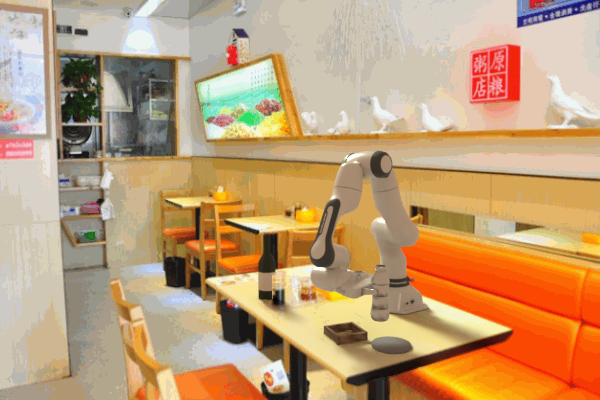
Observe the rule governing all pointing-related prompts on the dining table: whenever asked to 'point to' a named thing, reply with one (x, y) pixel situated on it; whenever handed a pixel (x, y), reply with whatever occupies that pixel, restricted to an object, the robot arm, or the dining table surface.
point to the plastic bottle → (380, 294)
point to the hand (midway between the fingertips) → (382, 290)
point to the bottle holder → (347, 338)
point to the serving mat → (391, 345)
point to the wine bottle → (265, 270)
